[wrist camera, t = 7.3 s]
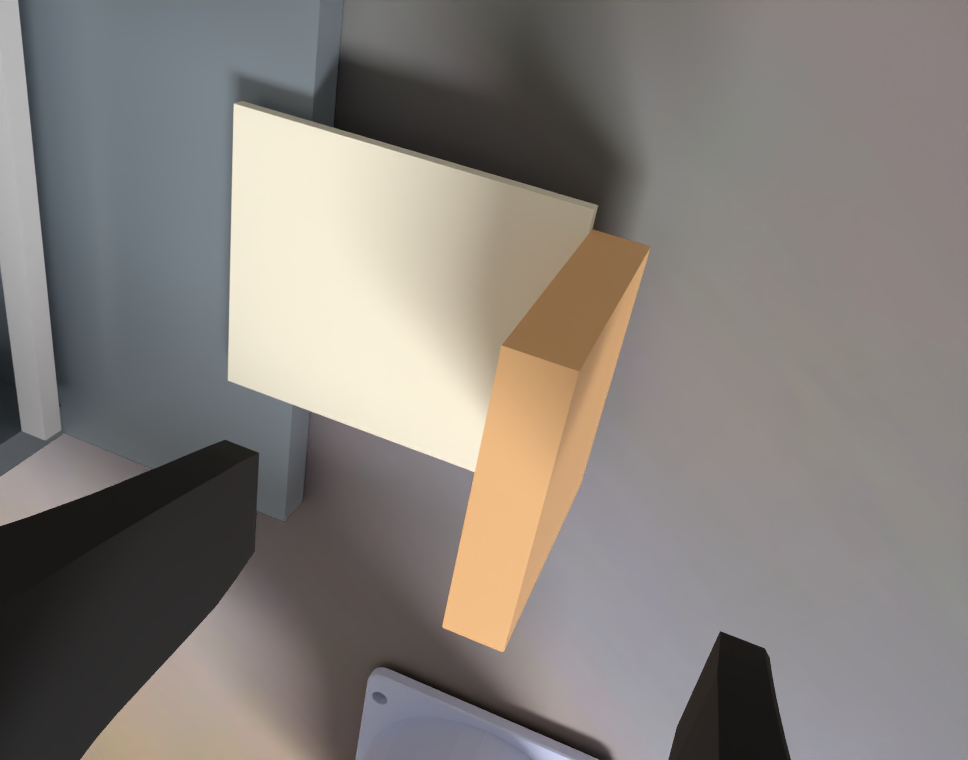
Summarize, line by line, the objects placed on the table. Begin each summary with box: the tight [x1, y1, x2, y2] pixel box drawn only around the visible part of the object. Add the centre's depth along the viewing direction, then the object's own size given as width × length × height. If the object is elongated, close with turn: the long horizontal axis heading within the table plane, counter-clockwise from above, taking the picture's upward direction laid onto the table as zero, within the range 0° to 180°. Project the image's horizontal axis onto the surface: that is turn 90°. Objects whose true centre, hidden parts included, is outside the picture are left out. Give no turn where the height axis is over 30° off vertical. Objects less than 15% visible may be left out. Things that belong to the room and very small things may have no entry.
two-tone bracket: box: [228, 101, 651, 652], centre depth 17 cm, size 9×7×6 cm
